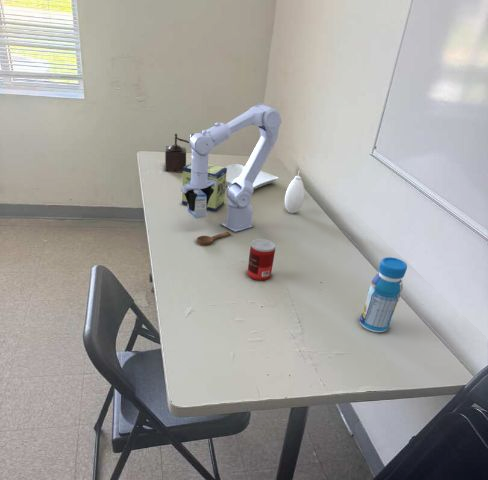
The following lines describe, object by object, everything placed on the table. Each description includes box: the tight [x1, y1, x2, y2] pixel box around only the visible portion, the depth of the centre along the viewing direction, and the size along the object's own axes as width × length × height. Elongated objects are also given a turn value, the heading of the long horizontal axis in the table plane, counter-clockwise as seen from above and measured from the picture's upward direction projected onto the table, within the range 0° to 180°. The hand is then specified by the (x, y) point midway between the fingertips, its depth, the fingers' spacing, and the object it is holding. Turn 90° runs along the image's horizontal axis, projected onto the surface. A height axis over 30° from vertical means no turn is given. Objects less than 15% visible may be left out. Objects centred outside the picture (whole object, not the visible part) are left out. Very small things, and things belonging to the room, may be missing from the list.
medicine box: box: [187, 189, 207, 219], centre depth 161 cm, size 8×4×9 cm, turn 27°
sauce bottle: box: [284, 171, 305, 214], centre depth 186 cm, size 8×8×18 cm
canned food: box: [247, 238, 277, 282], centre depth 140 cm, size 8×8×11 cm
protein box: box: [181, 162, 227, 213], centre depth 183 cm, size 10×16×16 cm
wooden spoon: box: [196, 231, 232, 246], centre depth 161 cm, size 15×5×1 cm, turn 135°
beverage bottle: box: [359, 256, 408, 333], centre depth 121 cm, size 8×8×20 cm
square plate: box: [223, 163, 280, 191], centre depth 215 cm, size 27×27×4 cm
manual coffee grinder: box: [164, 133, 195, 173], centre depth 217 cm, size 16×11×18 cm
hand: (197, 208), depth 161 cm, fingers closed on medicine box, 5 cm apart
